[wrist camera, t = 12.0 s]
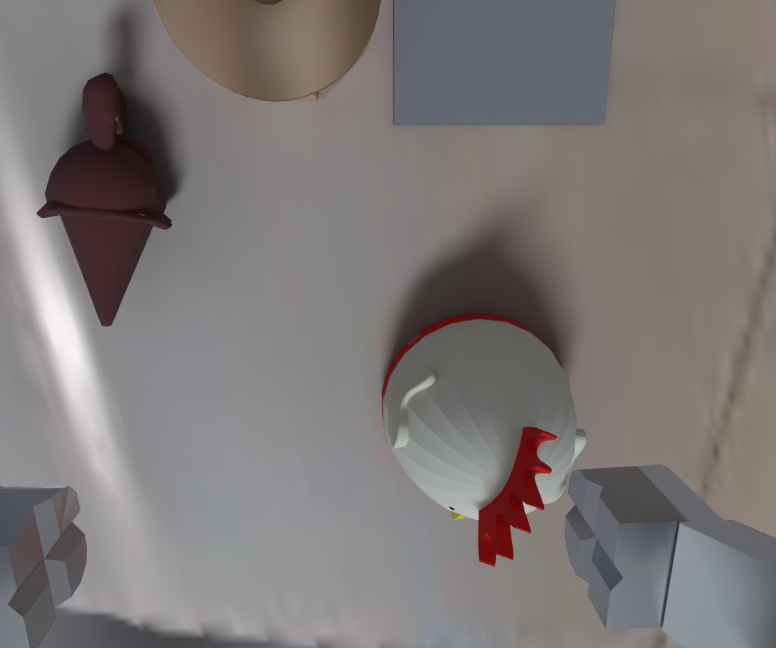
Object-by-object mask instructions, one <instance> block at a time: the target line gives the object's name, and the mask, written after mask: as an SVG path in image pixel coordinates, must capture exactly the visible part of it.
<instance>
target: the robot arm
mask: <svg viewBox="0 0 776 648" xmlns="http://www.w3.org/2000/svg"><path fill="white" fill-rule="evenodd" d="M568 494H569V495H570V497H571V499H572V500H573V502H574V503H575V506H574V507H573V508H572V509H571V510H570V512H569V513H568V514H567V515H566V518H565V541H566V549H567V553H568V556H569V559H570V563H571V565H572V567H573V569H574V571H575V573H576V574H577V575H578V576H579V577H581V578H582V579H584V580H585V581H587V582H588V583H589V589H588V597H589V599H590V601H591V602H592V604H593V606H594V608H595V610H596V611H597V613H598V615H599V617H600V619H601V621H602V622H603V624H604V626H605V628H606V629H628V628H662V631H663V632H665V633H666V634H667V635H668V636H670V637H671V638H672V639H674V640H675V641H676V642H677V643H679V644H680V645H681V646H682V647H684V648H776V538H774V537H772V536H770V535H767V534H765V533H763V532H760V531H758V530H755V529H753V528H751V527H748V526H746V525H744V524H741V523H739V522H737V521H734V520H722V519H721V518H720V517H719V516H718V515H717V514H716V513H715V512H714V511H713V510H712V509H711V508H710V507H709V506H708V505H707V504H706V503H705V502H704V501H703V500H702V499H700V498H699V497H698V496H697V495H696V494H695V493H694V492H693V491H692V490H691V489H690V488H689V487H688V486H687V485H686V484H685V483H684V482H683V481H682V480H681V479H680V478H679V477H678V476H677V475H676V474H674V473H673V472H672V471H671V470H670V469H669V468H668V467H666V466H663V465H646V466H632V467H615V468H598V469H581V470H573V471H572V473H571V476H570V479H569V487H568ZM79 511H80V506H79V502H78V498H77V493H76V491H75V490H73V489H72V488H71V487H70V486H33V487H0V648H38V647H39V645H40V644H41V642H42V640H43V639H44V638H45V636H46V635H47V633H48V632H49V630H50V629H51V627H52V625H53V624H54V623H55V621H56V614H55V609H54V608H55V607H57V606H58V605H60V604H61V603H63V602H64V601H66V600H67V599H69V598H70V597H72V595H73V594H74V592H75V590H76V589H77V587H78V586H79V584H80V582H81V579H82V576H83V573H84V569H85V566H86V558H87V545H86V539H85V534H84V533H83V532H82V531H81V530H80V529H79V528H78V527H77V526H76V525H75V524H74V523H73V521H74V519H75V518H76V516H77V515H78V513H79Z"/></svg>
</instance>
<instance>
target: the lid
mask: <svg viewBox="0 0 776 648" xmlns="http://www.w3.org/2000/svg"><path fill="white" fill-rule="evenodd" d="M154 2H155V6H156V8H157V11H158V13H159V16H160V18H161V21H162V23H163V24H164V26H165V28H166V30H167V32H168V34H169V36H170V37H171V39H172V40H173V41H174V43H175V44H176V46H177V47H178V49H179V50H180V51H181V52H182V53H183V55H184V56H185V57H186V58H187V59H188V60H189V61H190V62H191V63H192V64H193V65H194V66H195V67H196V68H197V69H198V70H200V71H201V72H202V73H203V74H205V75H206V76H207V77H209V78H210V79H212V80H213V81H215V82H216V83H218V84H220V85H221V86H223V87H225V88H227V89H229V90H231V91H233V92H235V93H238V94H241V95H243V96H246V97H250V98H254V99H259V100H266V101H289V100H294V99H299V98H304V97H307V96H309V95H312V94H315V93H317V92H319V91H321V90H323V89H325V88H327V87H329V86H330V85H332V84H333V83H334V82H336V81H337V80H339V79H340V78H341V77H342V76H343V75H344V74H345V73H346V72H347V71H348V70H350V68H351V67H352V66H353V65H354V63H355V62H356V61H357V60H358V59H359V57H360V56H361V54H362V52H363V51H364V49H365V47H366V46H367V44H368V42H369V39H370V37H371V35H372V33H373V30H374V27H375V24H376V21H377V18H378V13H379V7H380V2H381V0H154Z"/></svg>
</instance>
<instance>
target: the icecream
mask: <svg viewBox="0 0 776 648" xmlns="http://www.w3.org/2000/svg"><path fill="white" fill-rule="evenodd" d="M82 110H83V115H84V116H85V117H86V122H87V129H88V132H89V134H90V137H91V140H89V141H86V142H83V143H80V144H77V145H74V146H73V147H71V148H70V149H69V150H68V151H67V152H66V153H65V154H64V155H63V156H61V157H60V158H59V160H58V162H57V163H56V165H55V167H54V169H53V170H52V172H51V174H50V177H49V181H48V184H47V188H46V191H45V196H46V200H47V203H46V204H45V205H44V206H43V207H42V208H41V209H40V210H39V211H38V212H37V215H38V216H40V217H41V218H46V217H52V216H58V215H60V216H61V219H62V221H63V224H64V227H65V229H66V232H67V235H68V237H69V240H70V243H71V245H72V248H73V251H74V253H75V256H76V259H77V261H78V264H79V267H80V269H81V272H82V275H83V277H84V280H85V283H86V285H87V288H88V291H89V293H90V296H91V299H92V302H93V304H94V307H95V310H96V313H97V315H98V318H99V320H100V323H101V325H102V326H106V327H107V326H111V325H112V323H113V320H114V318H115V316H116V314H117V311H118V309H119V306H120V304H121V301H122V299H123V296H124V294H125V292H126V289H127V287H128V284H129V282H130V280H131V277H132V275H133V273H134V270H135V268H136V265H137V263H138V261H139V258H140V256H141V254H142V251H143V249H144V247H145V244H146V242H147V239H148V237H149V235H150V232H151V230H152V228H153V226H156V227H159V228H161V229H166V230H167V229H168V228H170V227H171V226H172V224H171V221H172V220H171V219H169V218H168V217H167V216H166V215H165V214H163V213H164V210H165V208H166V201H165V192H164V186H163V184H162V182H161V179H160V177H159V175H158V173H157V170H156V169H155V168H154V167H153V165H152V164H151V162H152V151H151V150H150V149H149V148H148V147H146V146H145V145H144V144H143V143H142V142H141V141H140V140H137V139H134V138H131V137H124V132H125V123H126V109H125V98H124V95H123V92H122V90H121V89H120V88H118V87H117V83H116V81H115V79H114V78H113V76H112V75H110V74H108V73H103V74H100V75H98V76H96V77H94V78H92V79H90V80H88V82H87V84H86V85H85V87H84V89H83V102H82Z"/></svg>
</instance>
